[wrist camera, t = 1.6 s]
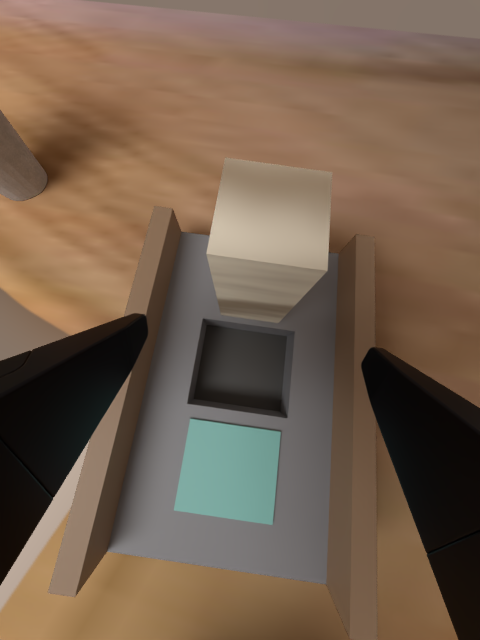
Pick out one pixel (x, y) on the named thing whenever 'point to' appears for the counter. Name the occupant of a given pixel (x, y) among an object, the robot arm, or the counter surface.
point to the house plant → (18, 166)
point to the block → (268, 237)
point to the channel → (238, 434)
